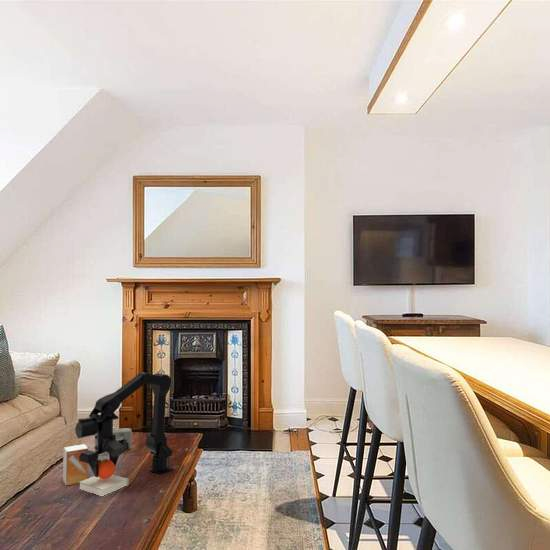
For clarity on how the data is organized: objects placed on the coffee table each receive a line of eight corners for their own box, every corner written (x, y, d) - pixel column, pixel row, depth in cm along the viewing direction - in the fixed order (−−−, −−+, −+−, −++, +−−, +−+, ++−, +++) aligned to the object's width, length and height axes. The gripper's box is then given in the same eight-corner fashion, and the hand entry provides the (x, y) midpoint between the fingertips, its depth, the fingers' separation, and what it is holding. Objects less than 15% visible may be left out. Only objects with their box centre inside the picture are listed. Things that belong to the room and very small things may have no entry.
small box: (65, 486, 183) (66, 451, 184) (62, 480, 189) (63, 447, 189) (88, 481, 188) (88, 447, 188) (84, 476, 193) (84, 443, 194)
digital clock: (132, 448, 228) (133, 425, 228) (129, 454, 219) (129, 431, 219) (97, 449, 226) (97, 426, 226) (92, 456, 217) (92, 432, 217)
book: (105, 479, 191) (105, 471, 191) (128, 486, 184) (128, 478, 184) (79, 489, 181) (79, 481, 181) (102, 497, 174) (102, 489, 174)
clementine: (92, 483, 177) (93, 463, 178) (91, 476, 184) (92, 457, 184) (115, 480, 181) (116, 461, 181) (113, 474, 187) (114, 455, 187)
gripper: (98, 442, 171) (98, 487, 170) (138, 429, 187) (138, 470, 186) (78, 437, 177) (78, 480, 176) (119, 425, 193) (118, 464, 192)
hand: (104, 473), depth 183 cm, fingers closed on clementine, 7 cm apart
